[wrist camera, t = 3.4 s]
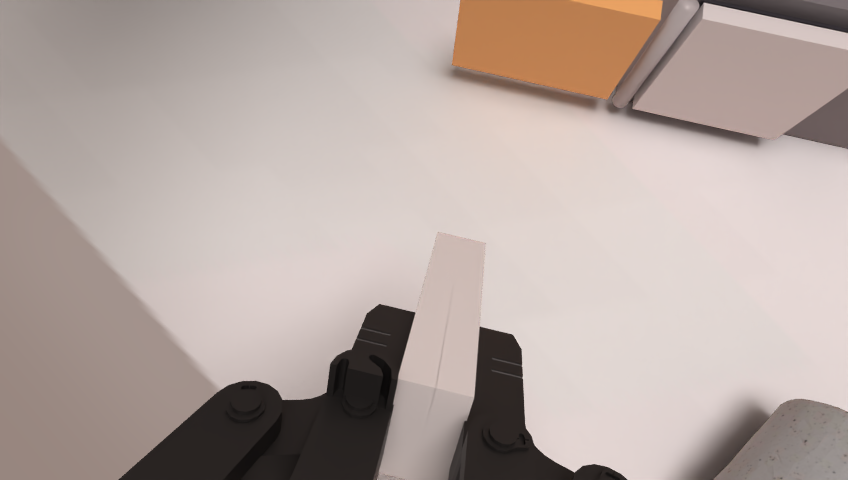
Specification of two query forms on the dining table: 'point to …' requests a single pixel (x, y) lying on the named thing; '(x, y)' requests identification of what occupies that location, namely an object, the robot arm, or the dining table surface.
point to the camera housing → (804, 3)
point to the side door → (678, 69)
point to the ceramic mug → (795, 445)
